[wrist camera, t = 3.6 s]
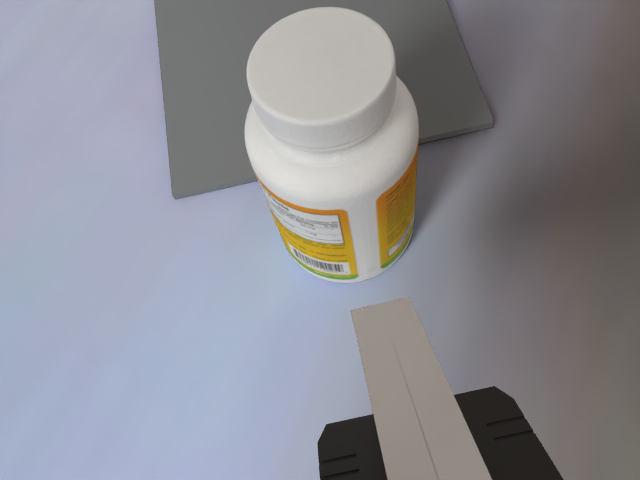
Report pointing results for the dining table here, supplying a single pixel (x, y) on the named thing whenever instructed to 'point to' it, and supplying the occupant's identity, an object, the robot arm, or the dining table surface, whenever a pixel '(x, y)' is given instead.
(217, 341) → the dining table surface
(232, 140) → the mat
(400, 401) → the robot arm
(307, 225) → the supplement bottle
